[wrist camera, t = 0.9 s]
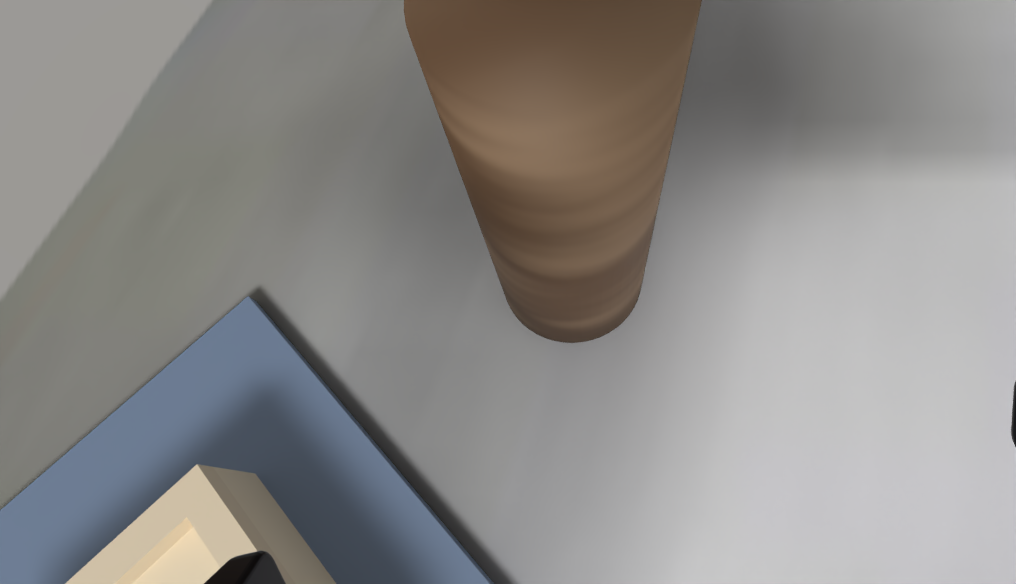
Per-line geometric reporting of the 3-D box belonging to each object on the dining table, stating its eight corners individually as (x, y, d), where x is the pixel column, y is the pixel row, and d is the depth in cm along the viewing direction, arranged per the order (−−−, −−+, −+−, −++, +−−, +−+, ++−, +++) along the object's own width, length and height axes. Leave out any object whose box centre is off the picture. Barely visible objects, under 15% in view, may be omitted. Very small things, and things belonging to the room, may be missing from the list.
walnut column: (671, 273, 22) (770, -35, 10) (573, 371, 21) (550, 166, 9) (570, 191, 24) (549, -160, 12) (475, 278, 23) (346, 0, 11)
